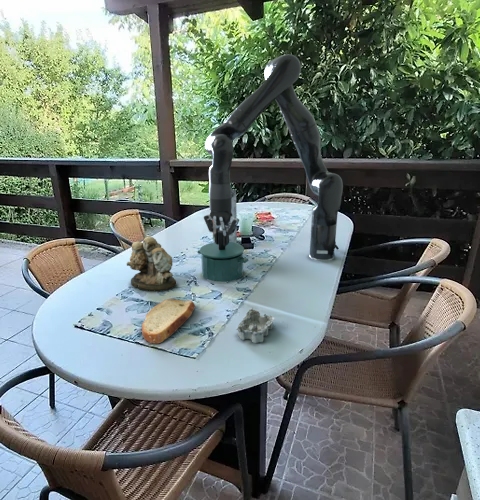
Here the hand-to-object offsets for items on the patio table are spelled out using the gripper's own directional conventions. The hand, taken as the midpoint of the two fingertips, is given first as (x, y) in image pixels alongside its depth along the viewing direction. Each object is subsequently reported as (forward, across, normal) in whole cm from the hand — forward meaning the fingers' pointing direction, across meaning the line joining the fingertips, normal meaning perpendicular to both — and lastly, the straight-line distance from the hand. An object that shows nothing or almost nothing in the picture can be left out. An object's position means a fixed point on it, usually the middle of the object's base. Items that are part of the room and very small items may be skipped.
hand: (221, 244), depth 129 cm
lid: (+2, 0, 0) cm, 2 cm away
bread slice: (+12, -5, +35) cm, 37 cm away
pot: (+12, 0, 0) cm, 12 cm away
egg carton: (+12, -28, +27) cm, 41 cm away
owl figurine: (+12, +17, +19) cm, 28 cm away
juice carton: (+12, +15, -25) cm, 31 cm away
